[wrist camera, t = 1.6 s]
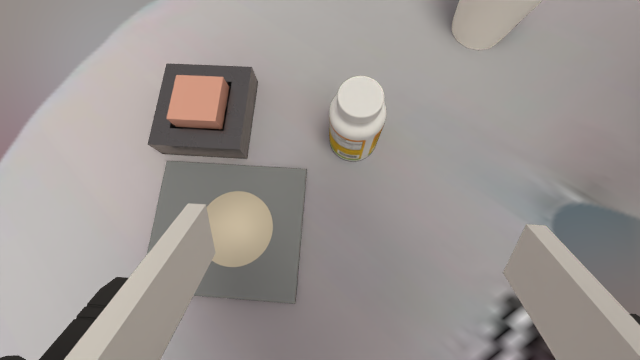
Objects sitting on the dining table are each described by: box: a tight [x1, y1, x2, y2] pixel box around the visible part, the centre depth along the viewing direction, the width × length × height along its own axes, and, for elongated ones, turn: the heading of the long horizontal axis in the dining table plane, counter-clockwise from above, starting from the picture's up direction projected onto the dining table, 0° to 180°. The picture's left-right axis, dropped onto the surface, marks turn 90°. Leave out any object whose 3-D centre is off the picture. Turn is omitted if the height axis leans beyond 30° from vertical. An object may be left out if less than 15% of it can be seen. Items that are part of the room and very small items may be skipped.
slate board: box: [147, 161, 307, 304], centre depth 32 cm, size 16×14×1 cm
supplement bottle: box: [329, 76, 387, 161], centre depth 30 cm, size 5×5×10 cm
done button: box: [166, 75, 229, 129], centre depth 32 cm, size 5×5×2 cm
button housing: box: [148, 64, 258, 159], centre depth 34 cm, size 10×10×3 cm
